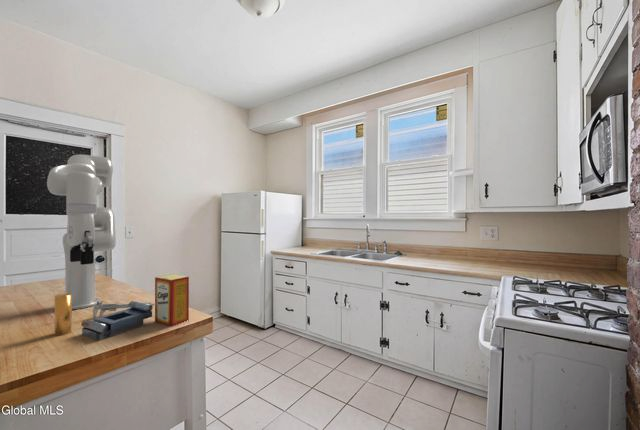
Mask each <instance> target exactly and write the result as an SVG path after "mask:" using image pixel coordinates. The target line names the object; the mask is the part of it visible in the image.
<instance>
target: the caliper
mask: <svg viewBox="0 0 640 430" xmlns="http://www.w3.org/2000/svg"><path fill="white" fill-rule="evenodd" d="M143 303H144V304H149V305H152V306H155V303H152V302H143ZM128 305H129V303H119V304H118V302H113V303H103V301H102V300H100V302H99V301H98V302H97V304H95V305H93V309H92V317H93V319H94V318H97V314H98V311H99V310H100V311H99V316H98V317H101V316H104V314H105V312H107V311H110V312H112V311H114V312H115V311H116V312H117V310H118V309H130V308H129V306H128Z"/></svg>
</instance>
